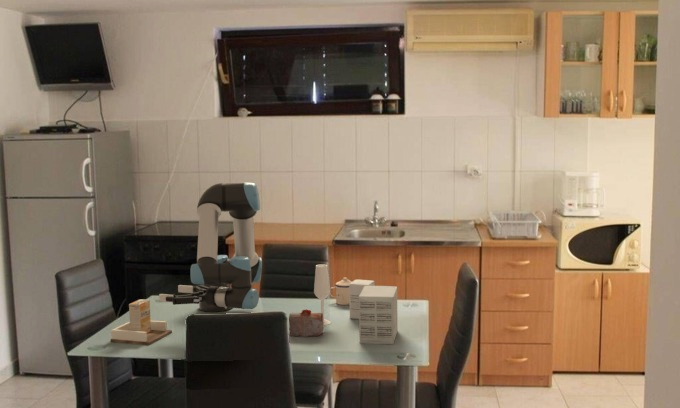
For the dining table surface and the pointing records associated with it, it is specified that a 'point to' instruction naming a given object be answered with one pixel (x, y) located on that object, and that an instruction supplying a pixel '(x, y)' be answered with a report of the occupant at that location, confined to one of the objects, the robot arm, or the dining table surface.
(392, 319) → the supplement box
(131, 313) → the supplement box
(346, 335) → the dining table surface
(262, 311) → the dining table surface
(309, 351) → the dining table surface
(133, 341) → the walled holder
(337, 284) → the teacup with lid
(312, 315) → the food item
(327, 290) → the champagne flute
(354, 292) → the supplement box
